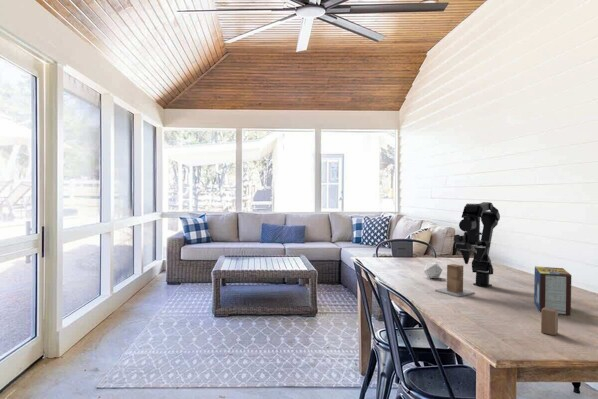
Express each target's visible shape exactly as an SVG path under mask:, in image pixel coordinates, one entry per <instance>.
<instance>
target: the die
mask: <svg viewBox="0 0 598 399" xmlns="http://www.w3.org/2000/svg"><path fill="white" fill-rule="evenodd" d="M423 272H424V274H425V276H426V277H427V278H428V279H429V278H439V279H440V276H441V274H442V272H443V268H442V267H441V266H440V264H438V262H426V264H425V267H424V269H423Z"/></svg>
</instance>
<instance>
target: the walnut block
mask: <svg viewBox="0 0 598 399" xmlns="http://www.w3.org/2000/svg"><path fill="white" fill-rule="evenodd" d="M446 288H447V291H451V292H454V293H458V292H463V290H464V265H462V264H461V265H460V264H457V263H451V264H447V265H446Z"/></svg>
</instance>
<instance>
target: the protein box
mask: <svg viewBox="0 0 598 399" xmlns="http://www.w3.org/2000/svg"><path fill="white" fill-rule="evenodd" d="M533 289H534V290H533V292H534V293H533V303H534V305H535V306H536V308H537V310H538V312H539V311H540V312H539V313H541V310H542V309H543V308H544V307H548V308H554V309H558V315H562V314H565V315H564V316H571V315H572V274H571V273H570V272H568V270H566V269H565V268H563V267H551V266H536V265H535V266H534V288H533Z"/></svg>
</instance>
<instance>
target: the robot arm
mask: <svg viewBox="0 0 598 399" xmlns="http://www.w3.org/2000/svg"><path fill="white" fill-rule="evenodd" d="M461 218H462V219H461V220H460V221H459V224H458V227H459V229H460V230H461V231H463V235H460V234H454V235H453V242H455V245H454V246H455V247H454V248H455V249H456V250H458V251H459V252H460V253H461V255H462V258H463V262H464V263H465V265H468V264H469V261H470V257H471V256H472V255H471V254H472V248H474V249H475V251H476V253H474V255H473V259H472V261H471V270H472V273H475V282H474V283H472V285H474V286H478V287H484V288H487V287H492V286H493V284H491V283H490V276H491V275H494V267H493V265H492V260H491V257H490V255H489V254H490V249H491V243H492V238H493V232H494V229H495V228H496V227H497V226H498V224H499V221H500V219H501V216H500V212H499V210H498V208H496V207H495V206H494V204H493V203H492V202H490V201H489V202H488V201H482V202H480V203H466V204H465V205H464V207H463V210H462V215H461ZM481 224H482V225H483V226H482V230H481V228H480V227H481ZM480 230H481V231H480Z"/></svg>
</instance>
